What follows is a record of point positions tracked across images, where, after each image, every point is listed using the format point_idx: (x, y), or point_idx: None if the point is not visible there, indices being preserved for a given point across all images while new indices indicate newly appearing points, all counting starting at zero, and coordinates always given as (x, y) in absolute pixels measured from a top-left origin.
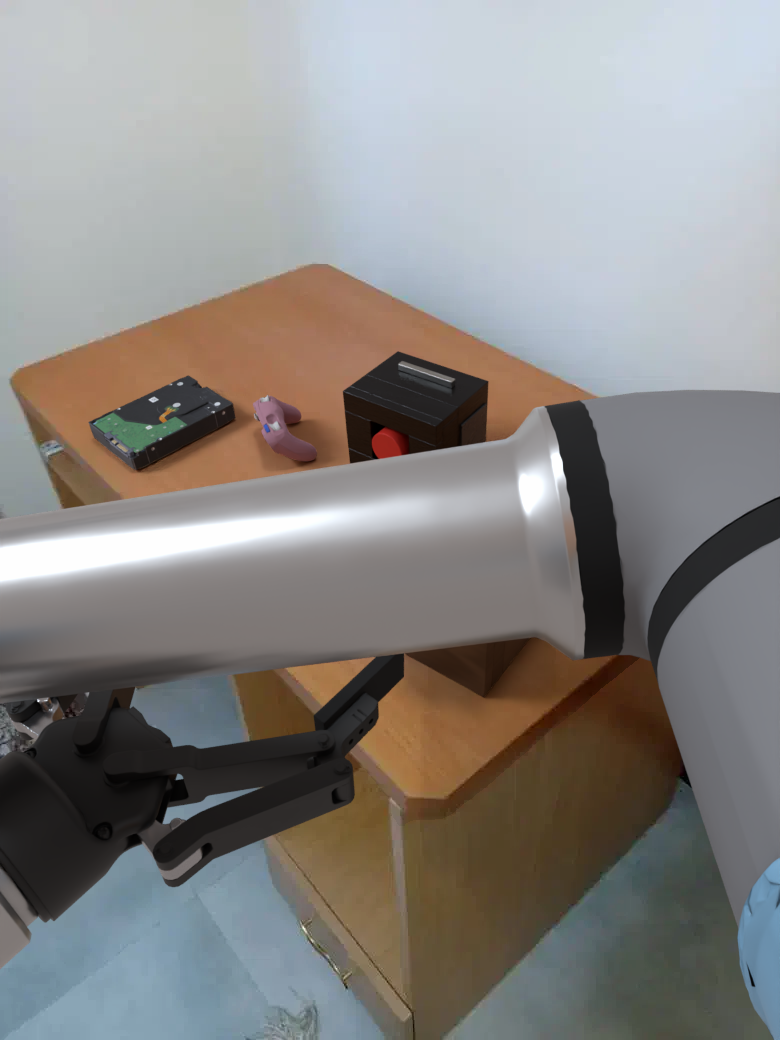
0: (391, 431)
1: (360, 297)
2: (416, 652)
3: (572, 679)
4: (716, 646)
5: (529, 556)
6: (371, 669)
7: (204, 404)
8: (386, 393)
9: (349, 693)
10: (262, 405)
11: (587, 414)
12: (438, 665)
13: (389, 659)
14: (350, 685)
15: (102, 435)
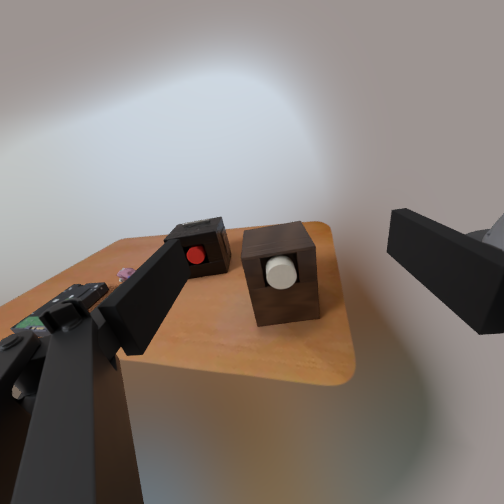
0: (194, 247)
1: (144, 239)
2: (274, 319)
3: (339, 290)
4: None
5: None
6: (426, 222)
7: (88, 289)
8: (184, 233)
9: (463, 238)
10: (122, 271)
11: None
12: (289, 317)
13: (418, 214)
14: (446, 235)
15: (23, 329)
